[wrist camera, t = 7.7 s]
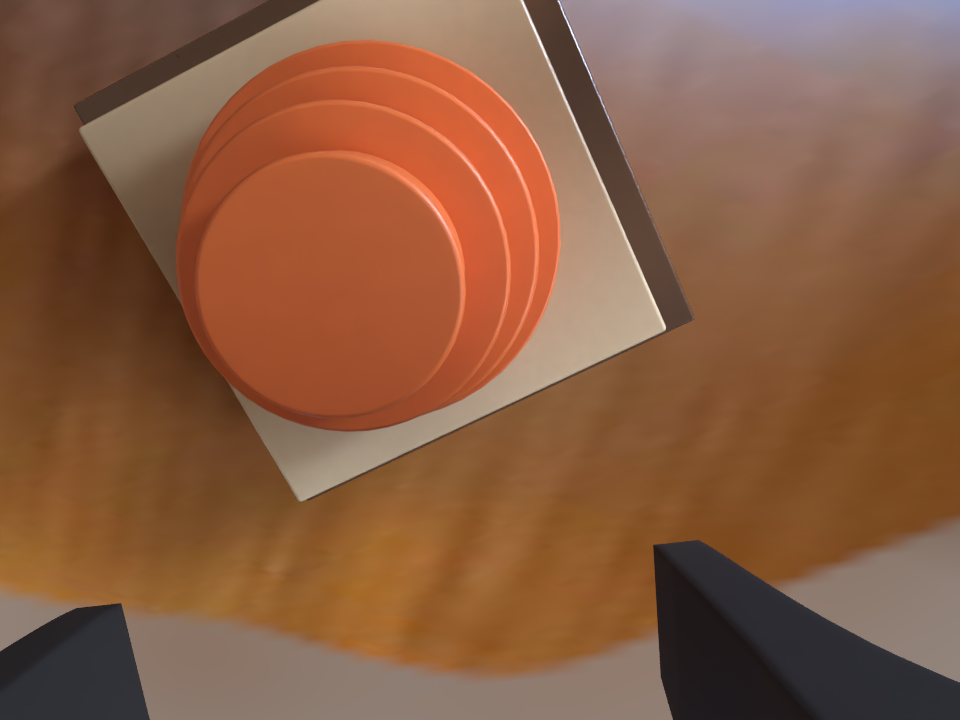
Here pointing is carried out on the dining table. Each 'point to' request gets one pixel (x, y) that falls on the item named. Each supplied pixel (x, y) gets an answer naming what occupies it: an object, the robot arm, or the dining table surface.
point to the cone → (365, 236)
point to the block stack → (537, 101)
